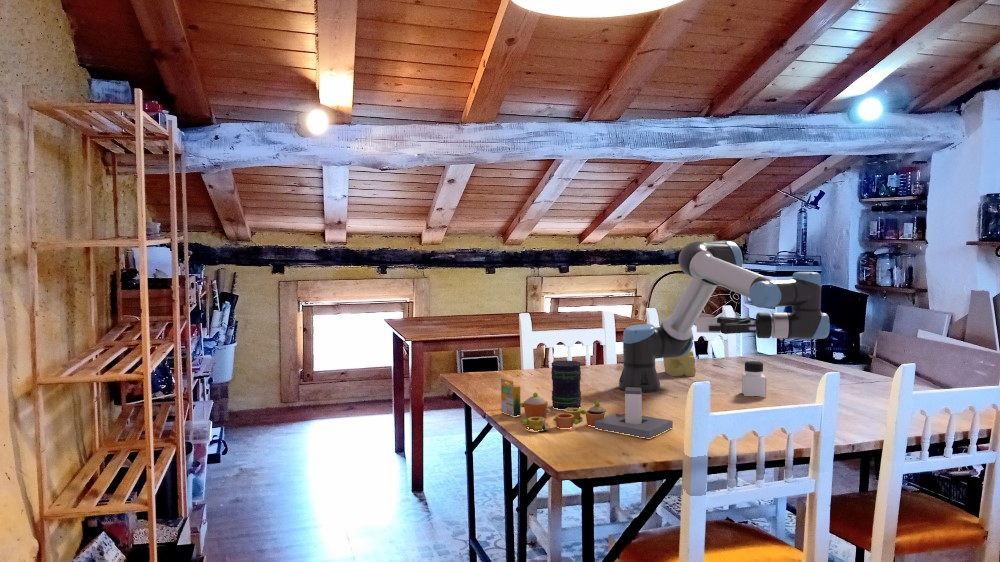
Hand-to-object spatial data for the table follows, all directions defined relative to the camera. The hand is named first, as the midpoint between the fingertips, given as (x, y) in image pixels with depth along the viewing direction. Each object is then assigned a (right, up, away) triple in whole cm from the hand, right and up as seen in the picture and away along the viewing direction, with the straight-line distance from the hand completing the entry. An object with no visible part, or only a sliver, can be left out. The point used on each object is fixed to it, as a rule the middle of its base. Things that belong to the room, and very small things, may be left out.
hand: (695, 324), depth 207 cm
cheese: (+15, -25, +75) cm, 80 cm away
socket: (-20, -30, -5) cm, 37 cm away
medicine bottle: (+31, -27, +35) cm, 54 cm away
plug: (-20, -30, -5) cm, 37 cm away
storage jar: (-37, -29, +23) cm, 52 cm away
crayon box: (-55, -30, +14) cm, 65 cm away
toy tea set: (-40, -31, +2) cm, 51 cm away
